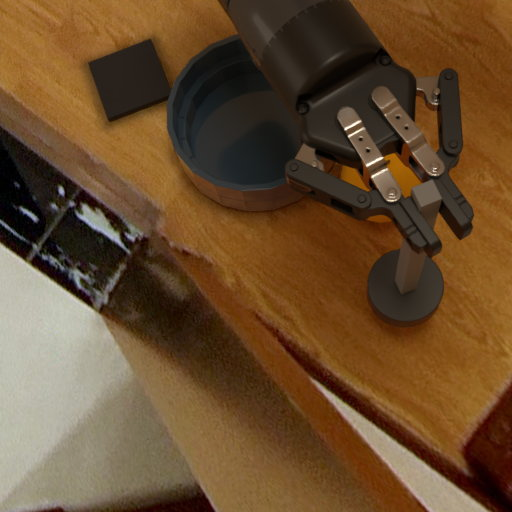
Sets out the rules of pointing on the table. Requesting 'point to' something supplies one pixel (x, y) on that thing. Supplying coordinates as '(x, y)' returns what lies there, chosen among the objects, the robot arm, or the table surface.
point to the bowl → (233, 129)
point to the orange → (398, 171)
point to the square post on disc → (408, 274)
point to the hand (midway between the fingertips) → (451, 241)
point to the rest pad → (130, 80)
